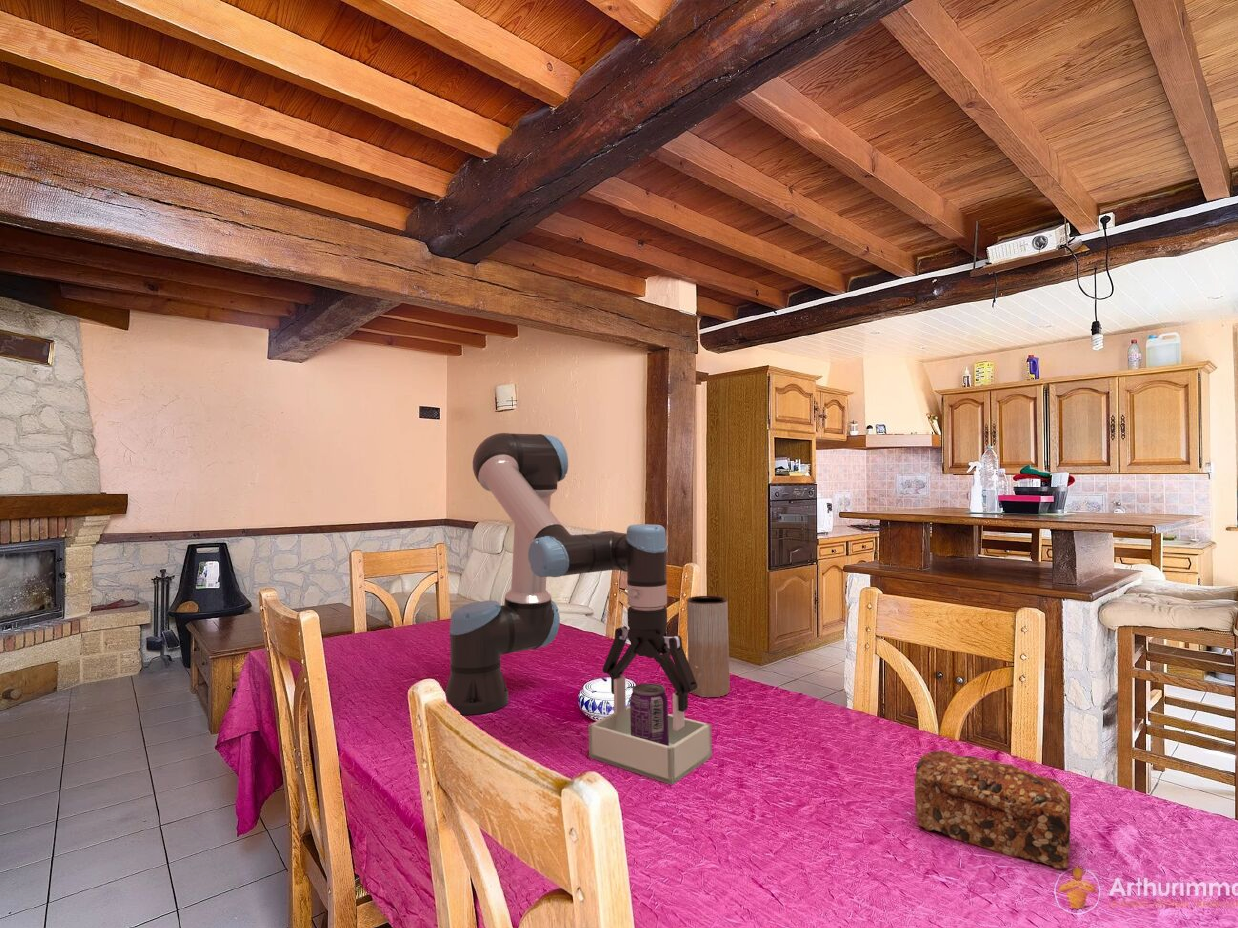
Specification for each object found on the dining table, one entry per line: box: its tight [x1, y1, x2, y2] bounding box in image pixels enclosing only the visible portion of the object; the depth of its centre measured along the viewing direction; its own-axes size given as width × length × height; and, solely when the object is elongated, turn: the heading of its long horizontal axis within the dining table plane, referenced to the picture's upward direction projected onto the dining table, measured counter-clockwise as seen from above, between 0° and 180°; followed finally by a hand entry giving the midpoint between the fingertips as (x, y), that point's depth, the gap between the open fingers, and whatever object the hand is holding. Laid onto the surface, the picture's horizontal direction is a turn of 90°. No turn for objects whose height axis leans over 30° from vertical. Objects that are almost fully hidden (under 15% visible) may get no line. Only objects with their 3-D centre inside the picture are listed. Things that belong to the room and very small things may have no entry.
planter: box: [686, 595, 731, 698], centre depth 153 cm, size 10×10×23 cm
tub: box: [588, 705, 713, 786], centre depth 117 cm, size 19×14×6 cm
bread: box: [914, 750, 1072, 869], centre depth 89 cm, size 19×11×10 cm, turn 52°
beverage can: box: [629, 682, 669, 746], centre depth 117 cm, size 7×7×12 cm
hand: (648, 719), depth 117 cm, fingers open, 13 cm apart
